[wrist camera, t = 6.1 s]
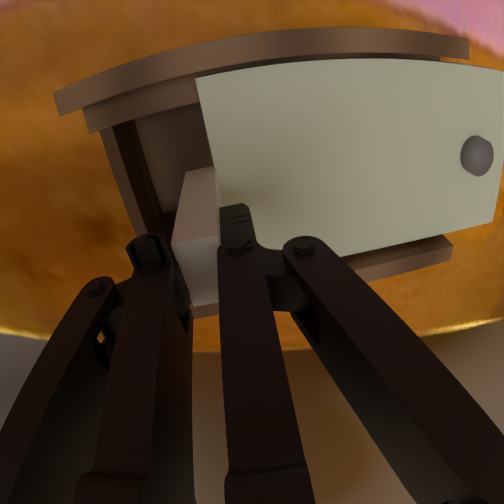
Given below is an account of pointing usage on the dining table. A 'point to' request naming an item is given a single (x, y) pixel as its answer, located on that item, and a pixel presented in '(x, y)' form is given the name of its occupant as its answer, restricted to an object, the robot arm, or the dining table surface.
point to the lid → (357, 148)
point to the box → (194, 131)
